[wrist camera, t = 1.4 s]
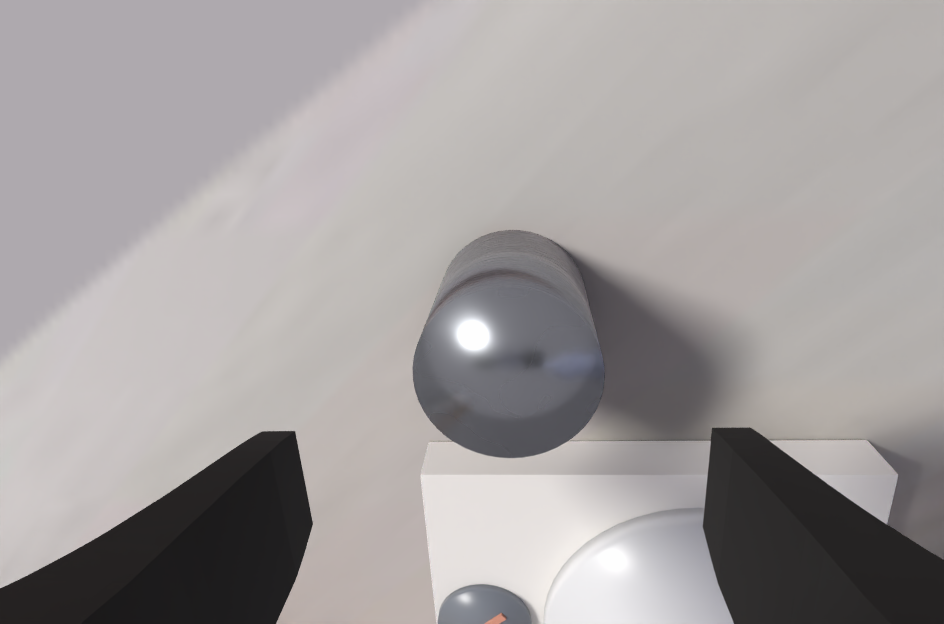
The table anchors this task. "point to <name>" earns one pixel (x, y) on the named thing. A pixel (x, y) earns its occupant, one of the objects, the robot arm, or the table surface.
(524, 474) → the kitchen scale
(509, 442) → the cylinder
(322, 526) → the table surface
